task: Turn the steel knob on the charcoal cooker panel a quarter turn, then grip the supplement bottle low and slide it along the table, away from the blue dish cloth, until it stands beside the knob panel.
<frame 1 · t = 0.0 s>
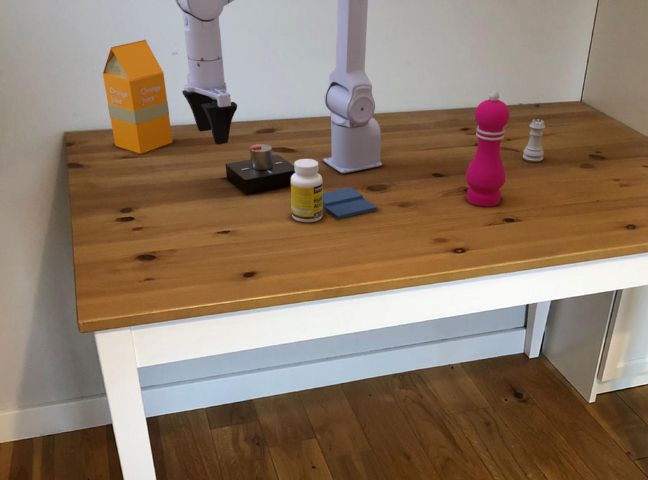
hand: (213, 136, 136), 10 cm above the table, tool pointing down, fingers open, 7 cm apart
rook chess piece: (532, 159, 162), on the table
knob: (261, 156, 143), point 5 cm above the table, hinge at 0.0°
dish cloth: (344, 205, 138), on the table
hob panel: (263, 181, 146), on the table
pepper mill: (483, 201, 143), on the table
orange juice: (144, 144, 160), on the table
supplement bottle: (307, 217, 134), on the table
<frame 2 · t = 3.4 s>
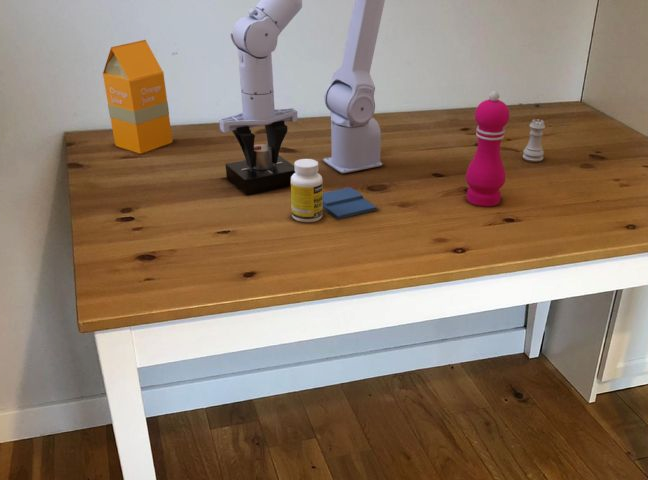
hand: (262, 163, 144), 4 cm above the table, tool pointing down, fingers closed on knob, 4 cm apart
knob: (261, 156, 143), point 5 cm above the table, hinge at 0.0°, touching gripper
everything else where it was.
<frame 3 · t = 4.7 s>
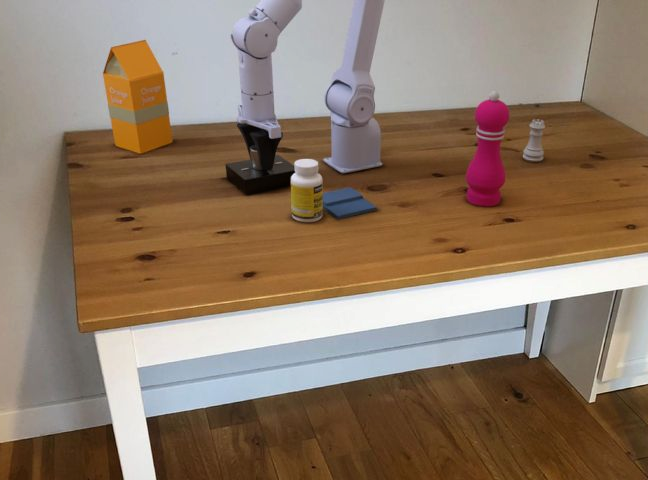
hand: (261, 164, 144), 3 cm above the table, tool pointing down, fingers closed on knob, 4 cm apart
knob: (261, 156, 143), point 5 cm above the table, hinge at 90.2°, touching gripper
everything else where it was.
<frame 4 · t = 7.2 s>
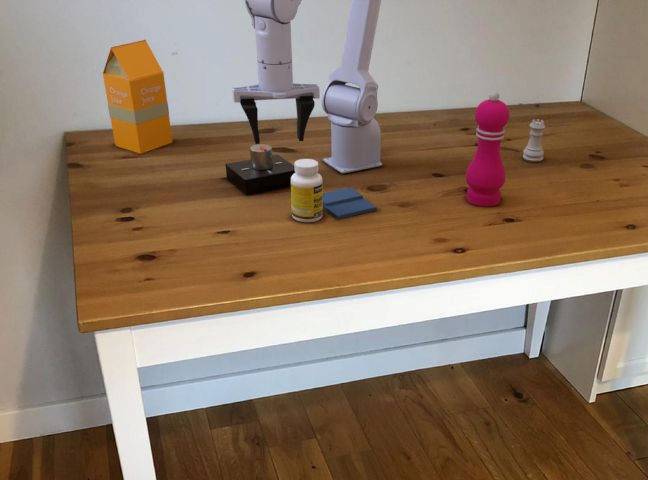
hand: (278, 140, 134), 10 cm above the table, tool pointing down, fingers open, 7 cm apart
knob: (261, 156, 143), point 5 cm above the table, hinge at 89.9°
everything else where it was.
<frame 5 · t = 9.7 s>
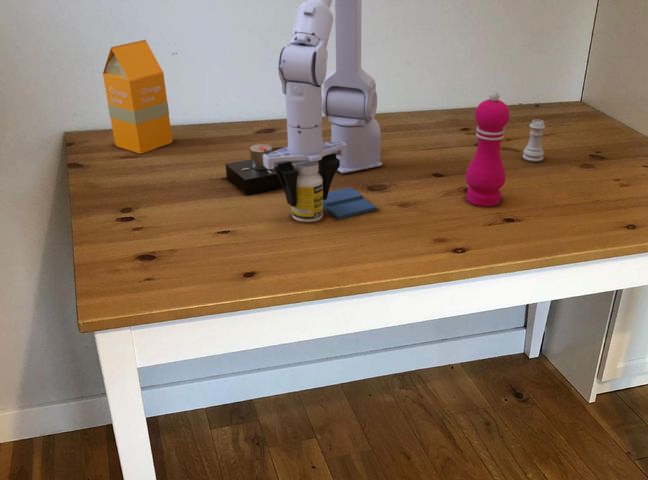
hand: (307, 201, 132), 3 cm above the table, tool pointing down, fingers closed on supplement bottle, 5 cm apart
supplement bottle: (307, 217, 134), on the table, touching gripper
everything else where it was.
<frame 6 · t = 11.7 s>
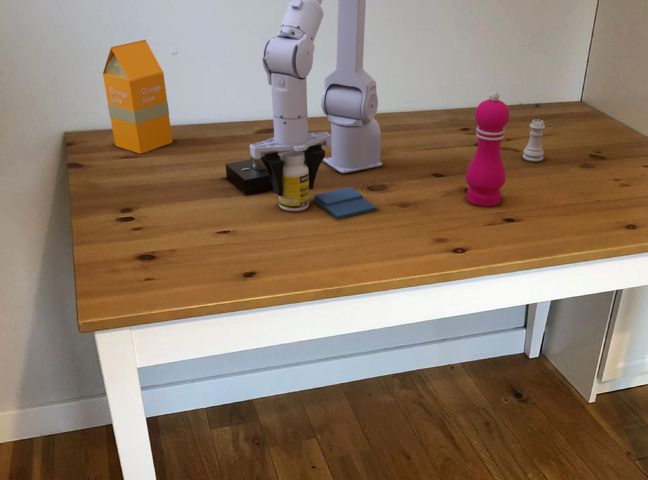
hand: (293, 190, 135), 3 cm above the table, tool pointing down, fingers closed on supplement bottle, 5 cm apart
supplement bottle: (294, 207, 137), on the table, touching gripper
everything else where it was.
when the fingers open (3 cm above the table, at t = 13.6 s): supplement bottle stays where it is, on the table.
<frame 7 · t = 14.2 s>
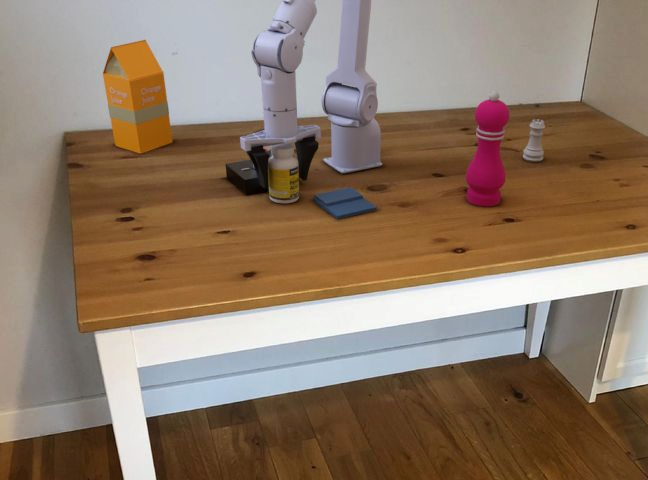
hand: (283, 182, 138), 3 cm above the table, tool pointing down, fingers open, 7 cm apart
supplement bottle: (284, 199, 140), on the table
everything else where it was.
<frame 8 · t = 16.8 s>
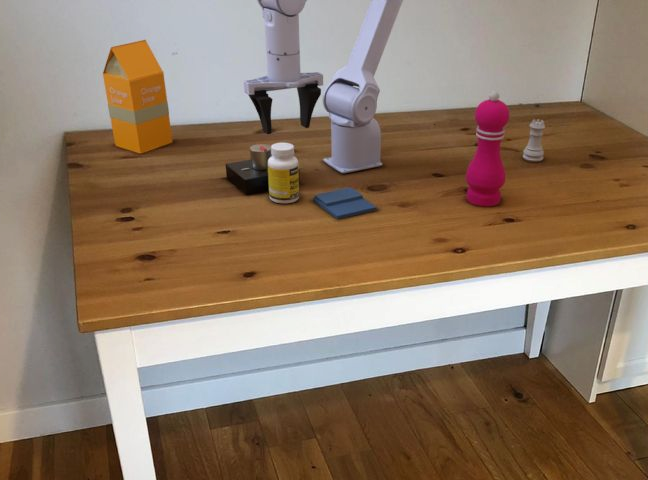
hand: (286, 129, 140), 10 cm above the table, tool pointing down, fingers open, 7 cm apart
nothing on the table moved.
at the end: knob at +90° (first picture: +0°); supplement bottle 0.5 cm from the target spot, on the table; supplement bottle tilted 0° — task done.
